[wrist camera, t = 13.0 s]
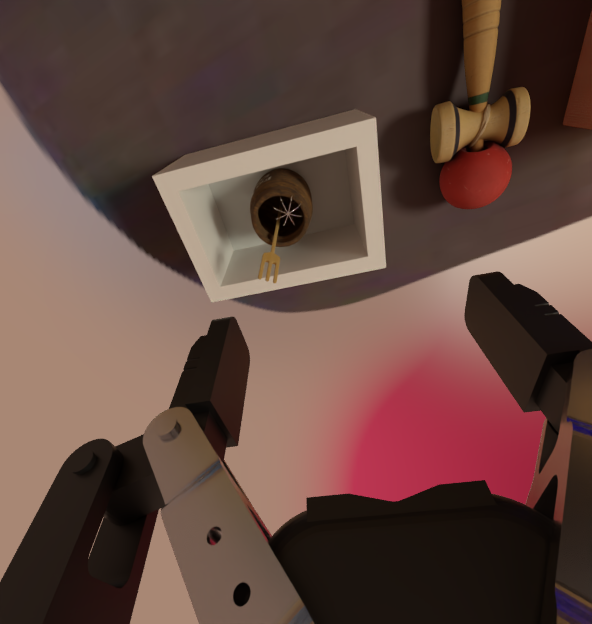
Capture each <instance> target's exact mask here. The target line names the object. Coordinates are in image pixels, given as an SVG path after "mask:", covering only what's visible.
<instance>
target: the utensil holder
mask: <svg viewBox="0 0 592 624" xmlns="http://www.w3.org/2000/svg"><path fill="white" fill-rule="evenodd" d="M312 212H313V204H312V197H311V192H310V189H309V186H308V184H307V182H306V181H305V180H304V178H303V177H302V176H301V175H299V174H298V173H297V172H295V171H293V170H290V169H285V168H279V169H274V170H271V171H269V172H267V173H266V174H265V175H263V176H262V177H261V179H260V180H259V181H258V183H257V185H256V187H255V189H254V192H253V194H252V198H251V202H250V214H251V221H252V226H253V228H254V231H255V232H256V234H257V235H258V237H259V238H260V239H261V240H263V241H264V242H265V243H267V244H269V245H272V247H271V252H267V253H263V256H262V260H261V265H260V270H259V275H258V279H260V280H261V279H262V274H263V270H264V265H265V262H268V268H267V273H266V279H265V280H266V281H267V282H268V281H269V279H270V273H271V268H272V264H275V271H274V277H273V283H277V277H278V271H279V265H280V257H279V256H278V255H276V254H275V253H274V251H275V246H276V247H286V246H290V245H293V244H295V243H297V242H298V241H299V240H300V239H301V238H302V237H303V236H304V235H305V233H306V231H307V229H308V227H309V223H310V221H311V218H312Z"/></svg>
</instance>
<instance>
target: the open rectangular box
mask: <svg viewBox="0 0 592 624" xmlns="http://www.w3.org/2000/svg"><path fill="white" fill-rule="evenodd" d="M279 168H285V169H290V170H293V171H295V172H297V173H298V174H299V175H301V176H302V177H303V178H304V180H305V181H306V182H307V184H308V186H309V189H310V192H311V197H312V204H313V212H312V218H311V221H310V223H309V227H308V229H307V231H306V233H305V235H304V236H303V237H302V238H301V239H300V240H299V241H298V242H297V243H295V244H293V245H290V246H286V247H276V246H275V251H274V253H275V254H276V255H278V256H279V257H280V265H279V271H278V277H277V283H273V277H274V271H275V264H272V268H271V273H270V279H269V281H268V282H267V281H266V280H265V279H266V273H267V268H268V262H265V265H264V270H263V274H262V279H261V280H260V279H258V275H259V270H260V265H261V260H262V256H263V253H267V252H271V247H272V245H269V244H267V243H265V242H264V241H263V240H261V239H260V238H259V237H258V235H257V234H256V232H255V231H254V228H253V226H252V221H251V214H250V202H251V198H252V194H253V192H254V189H255V187H256V185H257V183H258V181H259V180H260V179H261V177H262V176H263V175H265V174H266V173H267V172H269V171H271V170H274V169H279ZM152 178H153V180H154V182H155V184H156V186H157V188H158V190H159V192H160V195H161V197H162V199H163V201H164V203H165V205H166V207H167V209H168V212H169V214H170V216H171V218H172V220H173V222H174V224H175V226H176V228H177V231H178V233H179V235H180V237H181V239H182V241H183V243H184V245H185V248H186V250H187V252H188V254H189V256H190V258H191V260H192V262H193V264H194V267H195V269H196V271H197V273H198V275H199V277H200V279H201V281H202V284H203V286H204V288H205V290H206V292H207V294H208V296H209V298H210V300H211V302H216V301H221V300H226V299H232V298H237V297H242V296H247V295H252V294H257V293H262V292H267V291H272V290H277V289H282V288H287V287H292V286H297V285H302V284H307V283H312V282H317V281H322V280H327V279H332V278H337V277H342V276H347V275H352V274H357V273H362V272H367V271H372V270H377V269H382V268H386V258H385V244H384V229H383V215H382V200H381V186H380V171H379V157H378V142H377V127H376V117H373V116H371V115H369V114H366V113H364V112H361V111H359V110H357V109H354V110H350V111H347V112H343V113H339V114H335V115H332V116H328V117H324V118H320V119H317V120H313V121H309V122H305V123H302V124H298V125H294V126H291V127H287V128H283V129H279V130H276V131H272V132H268V133H264V134H261V135H257V136H253V137H249V138H246V139H242V140H238V141H235V142H231V143H227V144H223V145H220V146H216V147H212V148H208V149H205V150H201V151H197V152H193V153H190V154H186V155H184V156H182V157H181V158H179V159H178V160H176V161H175V162H173V163H172V164H170V165H168V166H167V167H165V168H164V169H162V170H161V171H159V172H158V173H156V174H155V175H153V176H152Z"/></svg>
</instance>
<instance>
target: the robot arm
mask: <svg viewBox="0 0 592 624" xmlns="http://www.w3.org/2000/svg"><path fill="white" fill-rule="evenodd" d="M465 322H466V326H467V328H468V330H469V332H470V333H471V335H472V336H473V338H474V339H475V341H476V342H477V343H478V345H479V347H480V348H481V349H482V351H483V353H484V354H485V356H486V357H487V358H488V360H489V361H490V363H491V364H492V366H493V367H494V369H495V370H496V372H497V373H498V375H499V376H500V378H501V379H502V381H503V382H504V384H505V385H506V387H507V388H508V390H509V391H510V393H511V394H512V395H513V397H514V398H515V400H516V401H517V403H518V404H519V406H520V407H521V409H522V410H523V412H532V411H540V410H541V411H542V412H543V414H544V415H545V416H546V419H545V422H544V424H543V430H542V436H541V441H540V446H539V451H538V457H537V462H536V468H535V473H534V478H533V483H532V486H531V489H530V492H529V495H528V498H527V501H526V505H524V504H522V503H520V502H517V501H515V500H512V499H509V498H506V497H503V496H499V495H495V494H491V492H490V490H489V488H488V486H487V484H486V482H485V480H482V481H472V482H462V483H452V484H441V485H437V486H435V487H433V488H430V489H427V490H425V491H422V492H420V493H418V494H415V495H413V496H410V497H408V498H406V499H403V500H400V501H396V502H392V501H386V500H380V499H375V498H369V497H364V496H358V495H353V494H340V495H330V496H320V497H311V498H307V511H304V512H302V513H300V514H298V515H296V516H295V517H293V518H292V519H290V520H289V521H288V522H286V523H285V524H284V525H283V526H281V527H280V528H279V530H277V531H276V533H274V535H273V536H272V535H271V534H270V532H269V531H268V529H267V528H266V526H265V524H264V523H263V521H262V520H261V518H260V517H259V515H258V514H257V512H256V511H255V509H254V507H253V506H252V504H251V502H250V501H249V499H248V498H247V496H246V494H245V493H244V491H243V489H242V488H241V486H240V485H239V483H238V481H237V480H236V478H235V476H234V475H233V473H232V472H231V470H230V468H229V467H228V465H227V464H226V462H225V460H224V455H225V450H226V447H233V446H238V441H239V434H240V427H241V421H242V414H243V407H244V399H245V393H246V386H247V379H248V372H249V365H250V355H249V350H248V347H247V344H246V342H245V339H244V337H243V335H242V332H241V330H240V328H239V325H238V323H237V320H236V319H235V318H234V317H228V318H222V319H216V320H212V322H211V325H210V328H209V330H208V334H207V335H206V336H201V337H200V338H199V339H198V340H197V341H196V342H195V344H194V345H193V346H192V347H191V350H190V353H189V355H188V358H187V362H186V364H185V366H184V371H183V372H182V375H181V377H180V380H179V383H178V386H177V388H176V391H175V394H174V397H173V400H172V402H171V405H170V407H169V409H168V410H166V411H164V412H162V413H160V414H159V415H158V416H157V417H156V418H154V419H153V420H152V421H151V423H150V424H149V425H148V427H147V429H146V430H145V433H144V434H143V435H141V436H139V437H137V438H134V439H132V440H130V441H127V442H125V443H123V444H120V445H118V446H116V447H115V446H114V445H113V444H112V443H110V442H109V441H108V440H106V439H96V440H93V441H90V442H88V443H86V444H84V445H82V446H81V447H79V448H78V449H77V450H75V451H74V452H73V453H72V454H71V455H70V456H69V457H68V459H67V460H66V461H65V462H64V464H63V465H62V467H61V469H60V471H59V473H58V474H57V476H56V478H55V480H54V482H53V484H52V486H51V488H50V489H49V491H48V493H47V495H46V497H45V499H44V501H43V503H42V504H41V506H40V508H39V510H38V512H37V514H36V516H35V518H34V520H33V522H32V523H31V525H30V527H29V529H28V531H27V533H26V535H25V536H24V538H23V540H22V542H21V544H20V546H19V548H18V550H17V551H16V553H15V555H14V557H13V559H12V561H11V563H10V565H9V567H8V568H7V570H6V572H5V574H4V576H3V578H2V580H1V582H0V624H130V620H131V616H132V612H133V608H134V604H135V600H136V597H137V593H138V588H139V584H140V581H141V577H142V573H143V569H144V565H145V561H146V557H147V553H148V549H149V545H150V542H151V537H152V534H153V530H154V526H155V522H156V518H157V514H158V510H159V509H160V508H162V509H161V516H162V520H163V523H164V526H165V528H166V531H167V534H168V537H169V540H170V543H171V545H172V548H173V551H174V554H175V557H176V560H177V562H178V565H179V568H180V571H181V574H182V577H183V579H184V582H185V585H186V588H187V591H188V593H189V596H190V599H191V602H192V605H193V608H194V610H195V613H196V616H197V619H198V622H199V624H592V342H591V341H590V340H589V339H588V338H587V337H586V336H585V335H583V334H582V333H581V332H580V331H579V330H578V329H577V328H576V327H575V326H574V325H572V324H571V323H570V322H569V321H568V320H567V319H566V318H565V317H564V316H563V315H561V314H559V313H558V311H557V310H556V309H555V308H554V307H553V306H552V305H549V304H548V302H547V301H546V300H545V299H544V298H543V297H542V296H541V295H539V294H538V293H537V292H535V291H534V290H531V289H529V288H527V287H525V286H523V285H521V284H515V285H514V284H512V283H511V282H510V281H509V280H508V279H507V278H506V277H505V276H504V275H503V274H502V273H501V272H493V273H486V274H481V275H475V276H472V277H471V279H470V282H469V288H468V294H467V301H466V307H465ZM103 517H104V519H103V522H102V524H101V521H102V518H103ZM100 524H101V527H100ZM99 527H100V529H99ZM98 529H99V532H98ZM97 532H98V535H97ZM96 535H97V537H96ZM95 537H96V540H95ZM94 540H95V543H94ZM93 543H94V546H93V548H92V545H93ZM91 548H92V551H91ZM90 551H91V553H90ZM89 553H90V556H89ZM88 557H89V559H88Z"/></svg>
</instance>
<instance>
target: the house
mask: <svg viewBox="0 0 592 624" xmlns="http://www.w3.org/2000/svg"><path fill="white" fill-rule="evenodd" d="M563 125H565V126H571V127H578V128H584V129H591V130H592V10H591V14H590V18H589V22H588V26H587V30H586V34H585V38H584V42H583V46H582V50H581V53H580V57H579V61H578V65H577V69H576V73H575V77H574V81H573V85H572V89H571V93H570V97H569V101H568V105H567V109H566V113H565V117H564V121H563Z"/></svg>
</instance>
